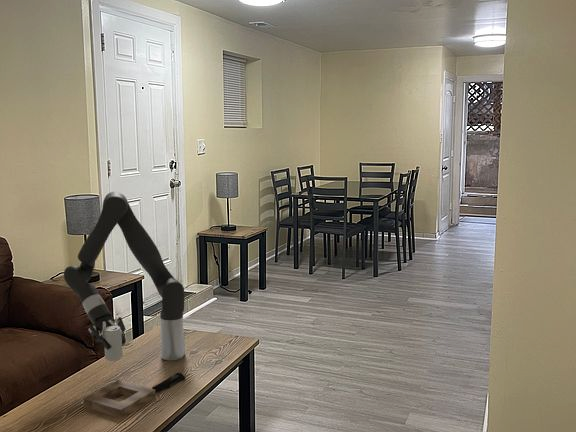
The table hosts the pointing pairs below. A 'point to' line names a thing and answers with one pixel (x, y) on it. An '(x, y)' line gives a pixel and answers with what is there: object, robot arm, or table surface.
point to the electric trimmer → (168, 382)
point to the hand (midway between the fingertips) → (116, 345)
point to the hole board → (118, 409)
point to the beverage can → (113, 343)
